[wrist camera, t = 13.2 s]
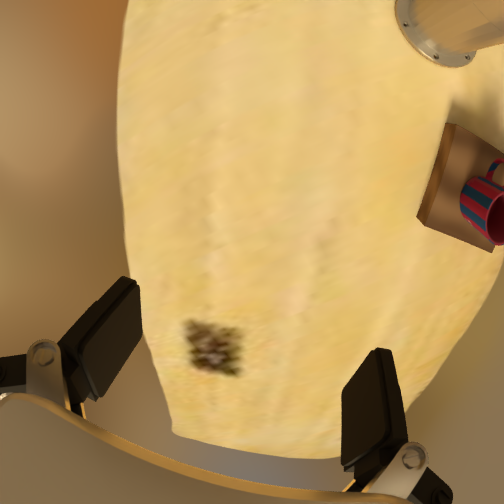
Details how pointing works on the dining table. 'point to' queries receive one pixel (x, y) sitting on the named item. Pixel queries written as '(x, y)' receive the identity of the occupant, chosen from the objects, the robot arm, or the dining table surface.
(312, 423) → the dining table surface
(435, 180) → the walnut block
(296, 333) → the dining table surface
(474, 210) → the mug
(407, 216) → the dining table surface
